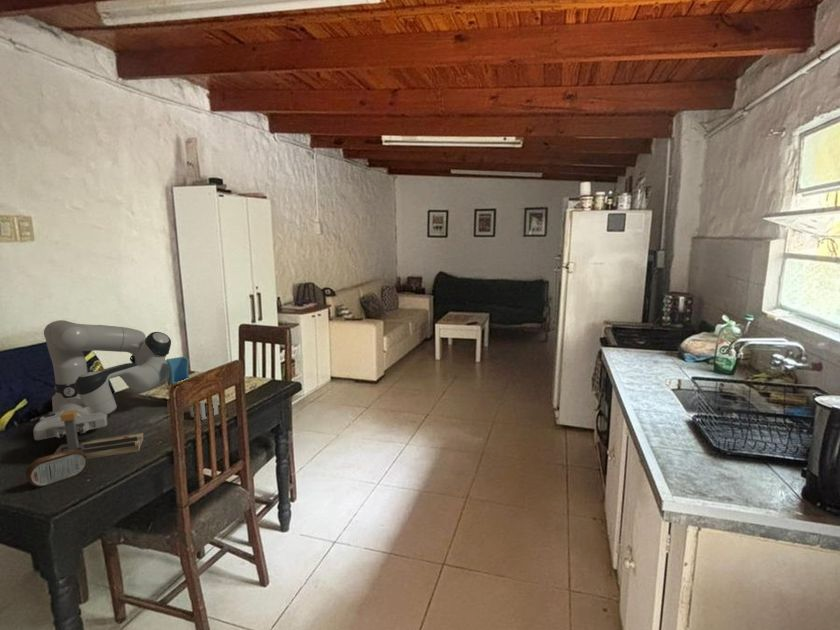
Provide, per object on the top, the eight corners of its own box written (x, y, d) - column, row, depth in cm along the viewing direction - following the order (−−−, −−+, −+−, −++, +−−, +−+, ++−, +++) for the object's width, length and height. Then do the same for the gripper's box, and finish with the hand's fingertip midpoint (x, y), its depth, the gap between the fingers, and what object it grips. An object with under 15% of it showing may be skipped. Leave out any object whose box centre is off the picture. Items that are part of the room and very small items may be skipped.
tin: (87, 469, 151) (84, 444, 149) (90, 472, 149) (87, 447, 147) (27, 489, 139) (23, 462, 138) (30, 492, 137) (26, 465, 136)
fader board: (61, 449, 164) (60, 441, 164) (143, 437, 174) (142, 429, 173) (50, 465, 154) (48, 455, 153) (138, 451, 163) (137, 442, 162)
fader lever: (66, 450, 159) (61, 412, 157) (84, 448, 161) (79, 409, 158) (63, 455, 156) (57, 415, 153) (81, 452, 157) (76, 413, 155)
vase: (173, 407, 204) (169, 362, 201) (169, 403, 210) (165, 359, 207) (193, 403, 209) (189, 359, 206) (188, 399, 215) (184, 356, 212)
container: (219, 414, 196) (216, 383, 194) (202, 420, 190) (199, 389, 188) (207, 410, 200) (204, 381, 198) (190, 416, 194) (187, 386, 192)
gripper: (108, 421, 174) (110, 434, 163) (37, 435, 162) (33, 450, 151) (105, 405, 173) (107, 417, 162) (34, 418, 161) (30, 431, 150)
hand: (71, 433), depth 156 cm, fingers open, 5 cm apart
